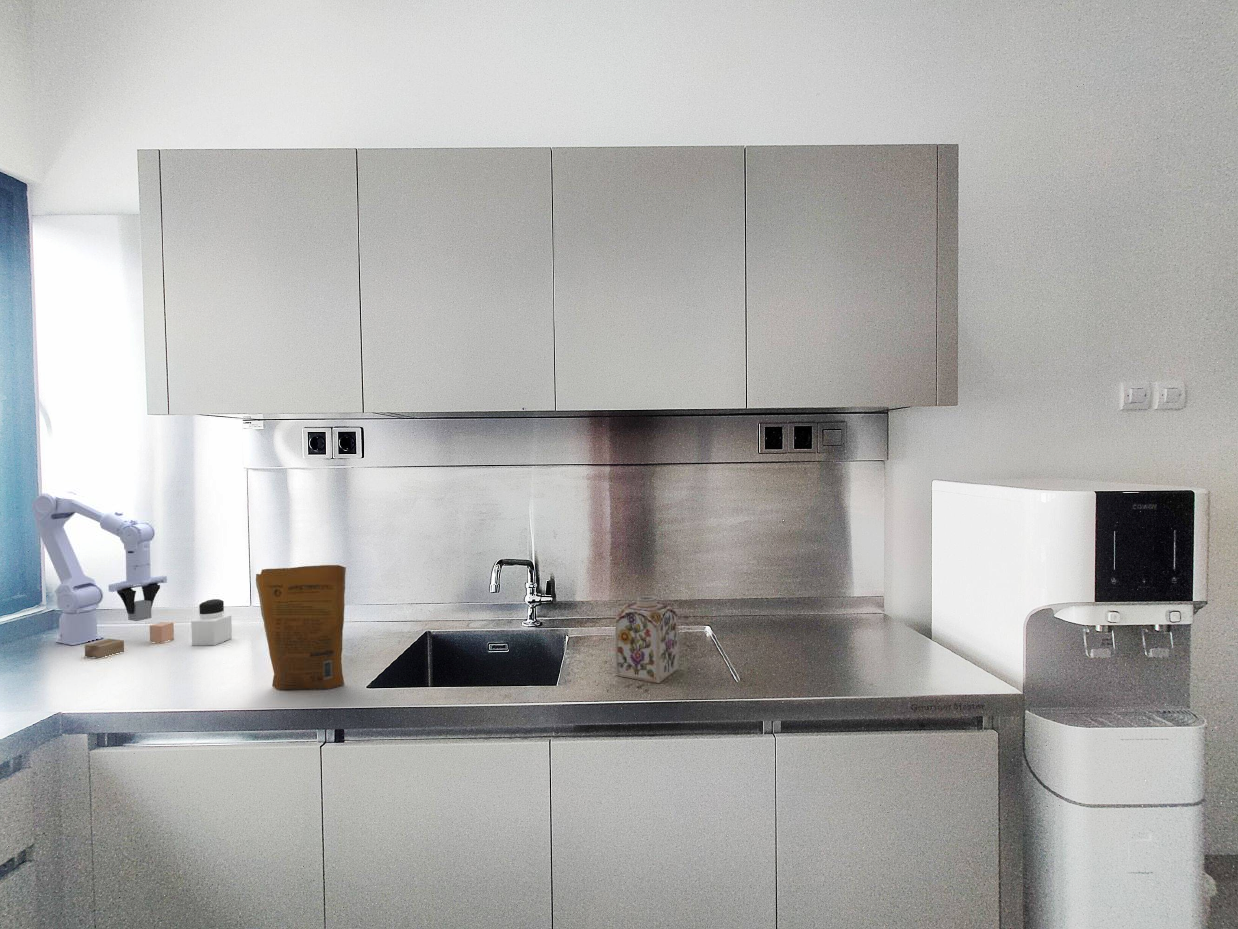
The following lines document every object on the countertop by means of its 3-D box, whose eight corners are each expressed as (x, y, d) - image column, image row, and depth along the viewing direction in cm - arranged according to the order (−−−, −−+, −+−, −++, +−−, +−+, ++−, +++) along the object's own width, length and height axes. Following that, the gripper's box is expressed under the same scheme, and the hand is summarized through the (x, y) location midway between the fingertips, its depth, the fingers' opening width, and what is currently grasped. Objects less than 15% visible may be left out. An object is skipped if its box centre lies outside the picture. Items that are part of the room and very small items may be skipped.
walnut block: (85, 657, 172) (84, 644, 172) (108, 651, 178) (108, 638, 178) (100, 659, 171) (100, 646, 171) (124, 653, 176) (123, 640, 176)
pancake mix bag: (342, 692, 143) (339, 566, 143) (256, 694, 143) (253, 568, 142) (354, 681, 150) (351, 561, 149) (271, 683, 149) (269, 563, 149)
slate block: (128, 619, 187) (127, 602, 187) (143, 616, 190) (142, 599, 190) (136, 621, 185) (136, 603, 185) (151, 618, 189) (151, 601, 189)
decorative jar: (659, 684, 145) (657, 605, 144) (614, 676, 150) (612, 600, 150) (680, 669, 155) (679, 594, 155) (637, 662, 161) (636, 590, 160)
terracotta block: (150, 643, 185) (149, 625, 185) (162, 639, 189) (161, 622, 189) (161, 643, 184) (161, 626, 184) (173, 639, 188) (173, 622, 188)
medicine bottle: (232, 638, 188) (231, 597, 188) (214, 645, 181) (213, 603, 181) (209, 638, 189) (208, 597, 189) (191, 645, 182) (190, 603, 182)
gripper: (118, 570, 179) (119, 618, 179) (172, 562, 192) (173, 607, 193) (103, 568, 182) (104, 616, 182) (158, 560, 195) (159, 605, 196)
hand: (139, 611), depth 188 cm, fingers closed on slate block, 4 cm apart
